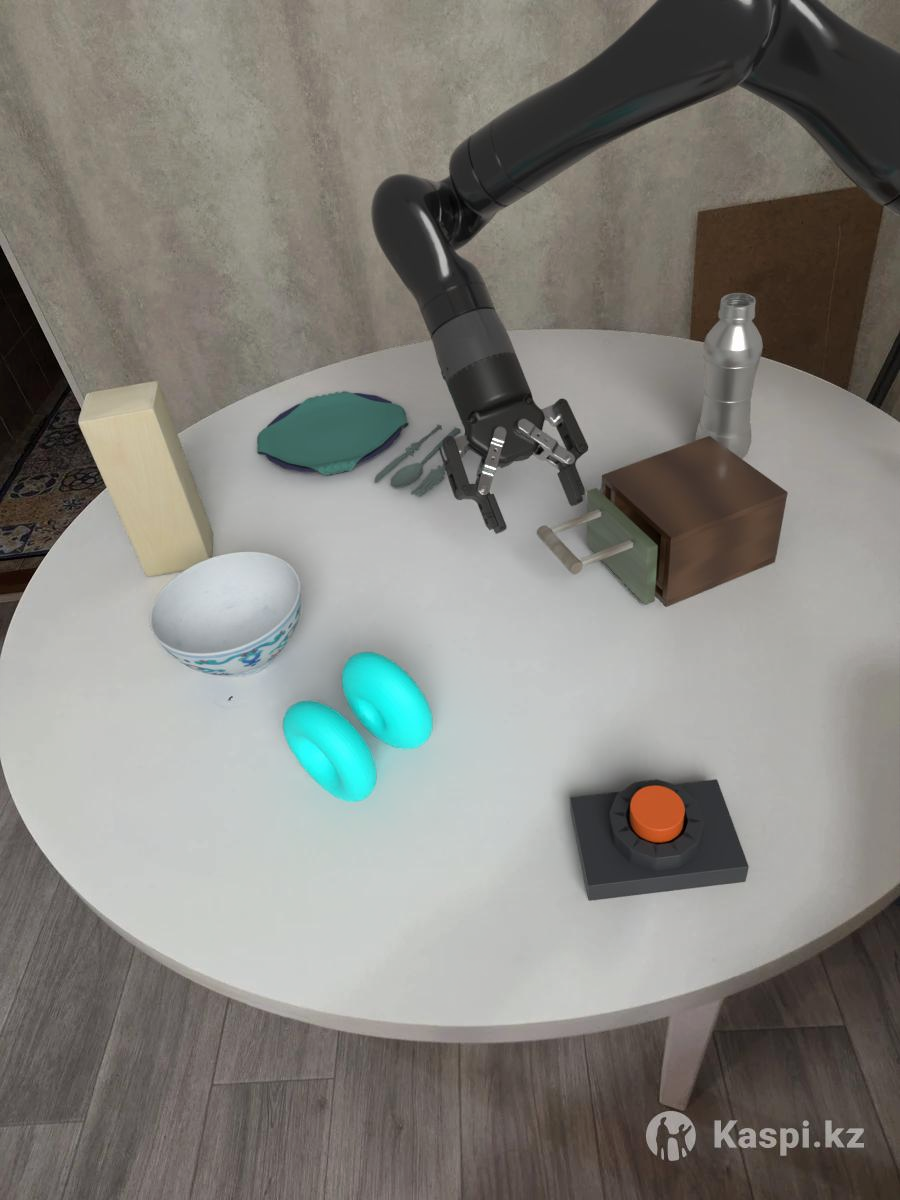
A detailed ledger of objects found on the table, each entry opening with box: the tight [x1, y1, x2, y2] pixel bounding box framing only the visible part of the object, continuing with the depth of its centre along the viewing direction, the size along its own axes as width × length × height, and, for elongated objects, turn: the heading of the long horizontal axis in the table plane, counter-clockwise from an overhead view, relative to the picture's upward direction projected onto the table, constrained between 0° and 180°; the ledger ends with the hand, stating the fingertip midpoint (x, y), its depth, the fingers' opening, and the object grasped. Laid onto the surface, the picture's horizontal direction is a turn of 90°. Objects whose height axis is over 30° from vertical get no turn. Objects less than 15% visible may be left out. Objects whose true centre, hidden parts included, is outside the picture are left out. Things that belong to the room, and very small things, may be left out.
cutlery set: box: [256, 390, 471, 498], centre depth 117 cm, size 20×30×2 cm, turn 55°
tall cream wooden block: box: [77, 380, 214, 578], centre depth 98 cm, size 8×7×21 cm
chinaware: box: [149, 551, 302, 678], centre depth 88 cm, size 15×15×8 cm
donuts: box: [282, 651, 434, 803], centre depth 75 cm, size 10×10×10 cm
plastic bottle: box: [694, 292, 764, 460], centre depth 100 cm, size 6×7×20 cm
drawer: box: [536, 487, 666, 606], centre depth 90 cm, size 20×11×7 cm, turn 114°
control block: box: [569, 778, 750, 902], centre depth 67 cm, size 12×8×4 cm, turn 94°
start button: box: [630, 785, 685, 843], centre depth 66 cm, size 4×4×2 cm
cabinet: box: [601, 436, 789, 608], centre depth 91 cm, size 14×13×9 cm
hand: (539, 517), depth 86 cm, fingers open, 8 cm apart
